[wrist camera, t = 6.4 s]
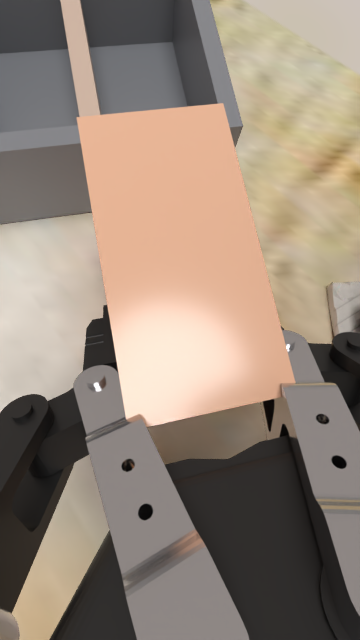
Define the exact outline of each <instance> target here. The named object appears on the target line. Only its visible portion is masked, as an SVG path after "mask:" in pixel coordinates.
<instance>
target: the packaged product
mask: <svg viewBox="0 0 360 640" xmlns="http://www.w3.org/2000/svg"><path fill="white" fill-rule="evenodd" d="M327 294H328V303H329V311H330V316H331V321H332V326H333V332H334V337H335V336H336V335H337V334H339V333H343V332H355V333H360V282H345V283H333V282H332V283H331V284H330V285H329V286H327Z"/></svg>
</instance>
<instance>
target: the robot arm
mask: <svg viewBox="0 0 360 640" xmlns="http://www.w3.org/2000/svg"><path fill="white" fill-rule="evenodd" d="M281 329H282V332H283V336H284V340H285V344H286V348H287V352H288V356H289V360H290V363H291V367H292V371H293V375H294V379H295V383H281V396H282V397H280V398H275V399H271V400H266V401H262V402H260V405H261V410H262V415H263V421H264V426H265V431H266V436H267V440H266V441H262V442H259V443H257V444H255V445H254V446H252V447H250V448H248V449H246V450H245V451H243V452H241V453H239V454H237V455H236V456H234V457H232V458H230V459H187V460H183V461H179V462H175V463H170V464H166V465H164V463H163V461H162V459H161V457H160V455H159V452H158V450H157V448H156V446H155V444H154V442H153V440H152V438H151V436H150V434H149V432H148V430H147V427H146V425H145V423H144V421H143V419H142V417H141V416H140V414H138V415H135V416H133V417H130V418H128V419H126V416H125V410H124V404H123V397H122V391H121V385H120V379H119V373H118V367H117V361H116V355H115V349H114V343H113V336H112V330H111V324H110V318H109V312H108V306H107V305H104V307H103V318H100V319H94V320H92V321H91V323H90V324H89V326H88V327H87V330H86V342H85V345H86V346H85V354H84V365H83V372H82V373H81V374H80V375H79V376H78V377H77V378H76V380H75V382H74V387H73V388H72V389H71V390H69V391H68V392H66V393H64V394H62V395H60V396H58V397H56V398H54V399H51V400H49V401H47V400H46V398H45V397H43V396H41V395H37V394H31V395H26V396H22V397H20V398H18V399H16V400H14V401H12V402H11V403H10V404H8V405H7V406H6V407H5V408H4V409H3V410H2V411H1V413H0V640H19V636H20V634H19V627H18V623H17V621H16V619H15V617H14V616H13V615H12V611H13V609H14V607H15V604H16V602H17V599H18V597H19V595H20V592H21V590H22V587H23V585H24V583H25V580H26V578H27V576H28V573H29V571H30V568H31V566H32V564H33V561H34V559H35V556H36V554H37V552H38V549H39V547H40V545H41V542H42V540H43V537H44V535H45V533H46V530H47V528H48V525H49V523H50V521H51V518H52V516H53V514H54V511H55V509H56V506H57V504H58V502H59V499H60V497H61V494H62V492H63V490H64V487H65V485H66V483H67V480H68V478H69V475H70V473H71V471H72V468H73V466H74V462H76V461H78V460H80V459H82V458H83V457H85V456H87V455H90V458H91V462H92V466H93V469H94V473H95V477H96V481H97V484H98V488H99V492H100V495H101V499H102V503H103V507H104V510H105V514H106V518H107V522H108V525H109V529H110V530H109V532H108V534H107V536H106V537H105V539H104V541H103V543H102V545H101V547H100V548H99V550H98V552H97V554H96V556H95V558H94V559H93V561H92V563H91V565H90V567H89V569H88V570H87V572H86V574H85V576H84V578H83V579H82V581H81V583H80V585H79V587H78V589H77V590H76V592H75V594H74V596H73V598H72V600H71V601H70V603H69V605H68V607H67V609H66V611H65V612H64V614H63V616H62V618H61V620H60V622H59V623H58V625H57V627H56V629H55V631H54V633H53V634H52V636H51V638H50V640H360V333H355V332H343V333H339V334H337V335H336V336H335V337H334V338H333V341H332V344H312V343H307V341H306V340H305V338H304V337H302V336H301V335H299V334H297V333H295V332H292V331H287V330H284V329H283V328H282V326H281Z"/></svg>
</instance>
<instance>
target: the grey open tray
mask: <svg viewBox="0 0 360 640" xmlns="http://www.w3.org/2000/svg"><path fill="white" fill-rule="evenodd" d="M220 103H223V104H224V108H225V112H226V116H227V120H228V123H229V127H230V131H231V135H232V139H233V143H234V147H236V144H237V141H238V138H239V136H240V133H241V130H242V127H243V124H242V121H241V117H240V113H239V109H238V106H237V102H236V98H235V94H234V91H233V87H232V83H231V79H230V76H229V72H228V68H227V64H226V61H225V57H224V53H223V49H222V46H221V42H220V38H219V34H218V31H217V27H216V23H215V19H214V16H213V12H212V8H211V4H210V1H209V0H0V224H5V223H13V222H20V221H28V220H35V219H43V218H50V217H58V216H65V215H73V214H80V213H88V212H92V208H91V202H90V196H89V190H88V184H87V178H86V172H85V166H84V160H83V154H82V148H81V141H80V135H79V129H78V123H77V117H83V116H94V115H104V114H115V113H125V112H136V111H146V110H157V109H167V108H178V107H188V106H199V105H209V104H220Z"/></svg>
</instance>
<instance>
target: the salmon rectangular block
mask: <svg viewBox="0 0 360 640" xmlns="http://www.w3.org/2000/svg"><path fill="white" fill-rule="evenodd" d="M77 123H78V129H79V135H80V141H81V148H82V154H83V160H84V166H85V172H86V178H87V184H88V190H89V196H90V202H91V208H92V215H93V221H94V227H95V233H96V239H97V245H98V251H99V257H100V263H101V269H102V276H103V282H104V288H105V294H106V300H107V306H108V312H109V318H110V324H111V330H112V336H113V343H114V349H115V355H116V361H117V367H118V373H119V379H120V385H121V391H122V397H123V404H124V410H125V416H126V419H128V418H130V417H133V416H135V415H138V414H140V416H141V417H142V419H143V421H144V423H145V425H146V427H150V426H154V425H159V424H163V423H168V422H172V421H177V420H181V419H186V418H190V417H195V416H199V415H204V414H208V413H213V412H217V411H222V410H226V409H230V408H235V407H239V406H244V405H248V404H253V403H257V402H262V401H266V400H271V399H275V398H280V397H282V396H281V383H295V379H294V375H293V371H292V367H291V363H290V360H289V356H288V352H287V348H286V344H285V340H284V336H283V332H282V329H281V325H280V321H279V317H278V313H277V309H276V305H275V301H274V298H273V294H272V290H271V286H270V282H269V278H268V274H267V271H266V267H265V263H264V259H263V255H262V251H261V247H260V243H259V240H258V236H257V232H256V228H255V224H254V220H253V216H252V212H251V209H250V205H249V201H248V197H247V193H246V189H245V185H244V181H243V178H242V174H241V170H240V166H239V162H238V158H237V154H236V151H235V147H234V143H233V139H232V135H231V131H230V127H229V123H228V120H227V116H226V112H225V108H224V104H223V103H220V104H209V105H199V106H188V107H178V108H167V109H157V110H146V111H136V112H125V113H115V114H104V115H94V116H83V117H77Z"/></svg>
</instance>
